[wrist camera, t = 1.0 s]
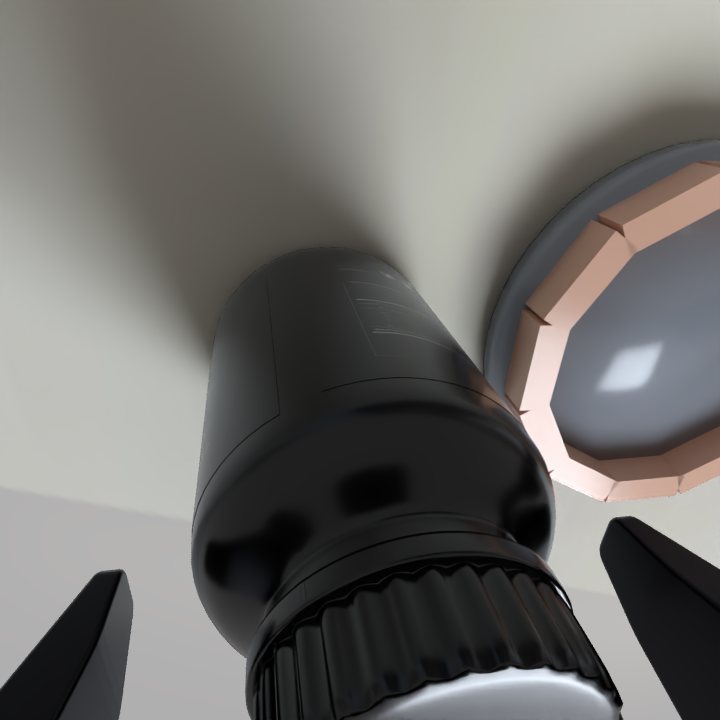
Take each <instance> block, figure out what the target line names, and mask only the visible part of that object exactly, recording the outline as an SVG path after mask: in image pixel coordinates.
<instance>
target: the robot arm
mask: <svg viewBox="0 0 720 720" xmlns="http://www.w3.org/2000/svg"><path fill="white" fill-rule="evenodd" d="M600 556H601V559H602V562H603V564H604V566H605V569H606V571H607V573H608V575H609V578H610V580H611V582H612V584H613V587H614V589H615V591H616V594H617V596H618V598H619V600H620V603H621V605H622V607H623V609H624V612H625V614H626V616H627V618H628V621H629V623H630V625H631V627H632V629H633V631H634V633H635V635H636V637H637V639H638V641H639V643H640V645H641V647H642V648H643V650H644V652H645V654H646V656H647V657H648V659H649V661H650V663H651V665H652V667H653V668H654V670H655V672H656V674H657V676H658V677H659V679H660V681H661V683H662V685H663V686H664V688H665V690H666V692H667V694H668V695H669V697H670V699H671V701H672V702H673V704H674V706H675V708H676V710H677V712H678V713H679V715H680V717H681V719H682V720H720V569H718V568H717V567H715V566H714V565H712V564H710V563H709V562H707V561H705V560H704V559H702V558H701V557H699V556H697V555H696V554H694V553H692V552H691V551H689V550H688V549H686V548H684V547H683V546H681V545H679V544H678V543H676V542H675V541H673V540H671V539H670V538H668V537H666V536H665V535H663V534H662V533H660V532H658V531H657V530H655V529H653V528H652V527H650V526H649V525H647V524H645V523H644V522H642V521H640V520H639V519H637V518H635V517H632V516H626V517H616V518H613V519H612V520H610V522H609V524H608V527H607V529H606V532H605V534H604V537H603V539H602V542H601V544H600ZM132 618H133V600H132V595H131V591H130V588H129V583H128V579H127V576H126V573H125V572H124V571H123V570H121V569H117V570H107V571H101V572H98V573H97V574H95V575H94V576H93V578H92V579H91V580H90V581H89V582H88V584H87V585H86V586H85V587H84V588H83V590H82V591H81V592H80V593H79V594H78V596H77V597H76V598H75V599H74V600H73V602H72V603H71V604H70V605H69V606H68V608H67V609H66V610H65V611H64V613H63V614H62V615H61V616H60V617H59V619H58V620H57V621H56V622H55V623H54V625H53V626H52V627H51V628H50V629H49V631H48V632H47V633H46V634H45V636H44V637H43V638H42V639H41V640H40V642H39V643H38V644H37V645H36V646H35V648H34V649H33V650H32V651H31V652H30V654H29V655H28V656H27V657H26V658H25V660H24V661H23V662H22V664H21V665H20V666H19V667H18V668H17V670H16V671H15V672H14V673H13V674H12V675H11V677H10V678H9V679H8V680H7V682H6V683H5V684H4V685H3V686H2V688H1V689H0V720H118V719H119V715H120V709H121V702H122V696H123V687H124V680H125V672H126V664H127V656H128V649H129V640H130V633H131V625H132Z"/></svg>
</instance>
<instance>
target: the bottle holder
mask: <svg viewBox="0 0 720 720" xmlns="http://www.w3.org/2000/svg"><path fill="white" fill-rule="evenodd" d="M484 377H485V378H486V380H487V381H488V382H489V383H490V385H491V386H492V387H493V389H494V390H495V391H496V392H497V394H498V395H499V396H500V398H501V399H502V400H503V401H504V403H505V404H506V405H507V406H508V408H509V409H510V410H511V412H512V413H513V414H514V415H515V417H516V418H517V419H518V421H519V422H520V423H521V425H522V426H523V427H524V429H525V430H526V432H527V433H528V434H529V436H530V438H531V439H532V440H533V442H534V443H535V445H536V446H537V448H538V449H539V451H540V453H541V455H542V457H543V459H544V460H545V463H546V465H547V468H548V471H549V474H550V477H551V479H553V480H555V481H557V482H560V483H562V484H564V485H566V486H568V487H571V488H573V489H575V490H577V491H579V492H582V493H584V494H586V495H588V496H590V497H592V498H595V499H597V500H599V501H601V502H602V501H603V500H605V502H614V501H624V500H634V499H644V498H654V497H664V496H674V495H676V493H677V491H678V492H679V493H680V494H681V493H683V492H685V491H687V490H690V489H692V488H694V487H696V486H698V485H700V484H702V483H704V482H706V481H708V480H710V479H712V478H714V477H717V476H719V475H720V139H711V140H697V141H692V142H687V143H682V144H676V145H673V146H670V147H667V148H664V149H661V150H658V151H655V152H652V153H649V154H646V155H644V156H642V157H640V158H638V159H636V160H633V161H631V162H629V163H627V164H625V165H623V166H621V167H619V168H618V169H616V170H614V171H613V172H611V173H610V174H608V175H606V176H605V177H603V178H601V179H600V180H598V181H597V182H595V183H594V184H593V185H591V186H590V187H589V188H587V189H586V190H585V191H584V192H582V193H581V194H580V195H578V196H577V197H576V198H575V199H573V200H572V201H571V202H570V203H569V204H568V205H567V206H566V207H565V208H564V209H562V210H561V211H560V212H559V213H558V214H557V215H556V216H555V217H554V218H553V219H552V220H551V221H550V222H549V223H548V224H547V226H546V227H545V228H544V229H543V230H542V231H541V233H540V234H539V235H538V236H537V237H536V239H535V240H534V241H533V242H532V243H531V244H530V246H529V247H528V249H527V250H526V252H525V253H524V255H523V256H522V258H521V259H520V261H519V262H518V263H517V265H516V266H515V268H514V270H513V272H512V273H511V275H510V277H509V279H508V281H507V283H506V285H505V287H504V288H503V290H502V292H501V295H500V297H499V300H498V302H497V305H496V307H495V310H494V313H493V315H492V319H491V322H490V326H489V330H488V334H487V338H486V345H485V354H484Z"/></svg>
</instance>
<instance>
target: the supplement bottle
mask: <svg viewBox="0 0 720 720" xmlns="http://www.w3.org/2000/svg"><path fill="white" fill-rule="evenodd" d="M555 520H556V511H555V496H554V490H553V485H552V480H551V477H550V474H549V471H548V468H547V465H546V463H545V460H544V459H543V457H542V455H541V453H540V451H539V449H538V448H537V446H536V445H535V443H534V442H533V440H532V439H531V438H530V436H529V434H528V433H527V432H526V430H525V429H524V427H523V426H522V425H521V423H520V422H519V421H518V419H517V418H516V417H515V415H514V414H513V413H512V412H511V410H510V409H509V408H508V406H507V405H506V404H505V403H504V401H503V400H502V399H501V398H500V396H499V395H498V394H497V392H496V391H495V390H494V389H493V387H492V386H491V385H490V383H489V382H488V381H487V380H486V378H485V377H484V376H483V375H482V373H481V372H480V371H479V369H478V368H477V367H476V366H475V364H474V363H473V362H472V361H471V359H470V358H469V357H468V355H467V354H466V353H465V352H464V350H463V349H462V348H461V347H460V345H459V344H458V343H457V341H456V340H455V339H454V338H453V336H452V335H451V334H450V333H449V331H448V330H447V329H446V327H445V326H444V325H443V324H442V322H441V321H440V320H439V319H438V317H437V316H436V315H435V313H434V312H433V311H432V310H431V308H430V307H429V306H428V304H427V303H426V302H425V301H424V299H423V298H422V297H421V296H420V294H419V293H418V292H417V291H416V290H415V289H414V287H413V286H412V285H411V284H410V283H409V282H408V281H407V280H406V279H405V278H404V277H403V276H402V275H401V274H400V273H399V272H397V271H396V270H395V269H394V268H392V267H391V266H390V265H388V264H387V263H385V262H383V261H381V260H379V259H378V258H376V257H373V256H371V255H368V254H366V253H362V252H359V251H356V250H350V249H345V248H335V247H320V248H311V249H305V250H300V251H296V252H293V253H290V254H287V255H284V256H282V257H279V258H277V259H275V260H273V261H271V262H269V263H268V264H266V265H264V266H263V267H261V268H260V269H258V270H257V271H256V272H254V273H253V274H252V275H251V276H249V277H248V278H247V279H246V280H245V281H244V282H243V283H242V284H241V285H240V286H239V287H238V289H237V290H236V291H235V292H234V293H233V295H232V296H231V298H230V299H229V301H228V302H227V304H226V306H225V308H224V310H223V312H222V314H221V317H220V319H219V322H218V325H217V329H216V333H215V337H214V343H213V349H212V356H211V364H210V373H209V382H208V391H207V400H206V409H205V418H204V426H203V435H202V444H201V453H200V462H199V471H198V480H197V489H196V498H195V507H194V516H193V525H192V543H191V544H192V545H191V546H192V547H191V565H192V571H193V578H194V583H195V586H196V589H197V592H198V596H199V598H200V600H201V603H202V605H203V607H204V609H205V611H206V613H207V615H208V617H209V618H210V620H211V621H212V623H213V624H214V626H215V627H216V629H217V630H218V631H219V633H220V634H221V635H222V636H223V637H224V638H225V640H226V641H227V642H228V643H229V644H230V645H231V646H232V647H233V648H234V649H235V650H236V651H238V652H239V653H240V654H241V655H243V656H244V657H245V658H247V663H246V686H245V694H246V705H247V710H248V713H249V716H250V718H251V720H623V718H622V715H621V712H620V711H621V708H622V705H623V702H622V700H621V697H620V695H619V692H618V690H617V688H616V686H615V685H614V683H613V681H612V679H611V677H610V675H609V673H608V671H607V669H606V667H605V665H604V664H603V662H602V660H601V659H600V657H599V655H598V654H597V652H596V651H595V649H594V647H593V645H592V644H591V642H590V640H589V639H588V637H587V635H586V634H585V632H584V631H583V629H582V627H581V626H580V624H579V622H578V621H577V619H576V617H575V616H574V614H573V609H572V605H571V602H570V600H569V598H568V596H567V594H566V592H565V590H564V589H563V587H562V585H561V584H560V582H559V581H558V579H557V578H556V576H555V574H554V573H553V571H552V570H551V569H550V567H549V566H548V564H547V561H548V558H549V555H550V552H551V549H552V544H553V539H554V532H555Z"/></svg>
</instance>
